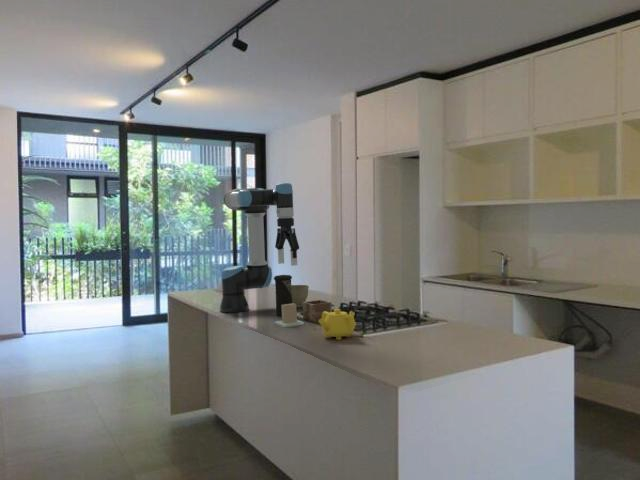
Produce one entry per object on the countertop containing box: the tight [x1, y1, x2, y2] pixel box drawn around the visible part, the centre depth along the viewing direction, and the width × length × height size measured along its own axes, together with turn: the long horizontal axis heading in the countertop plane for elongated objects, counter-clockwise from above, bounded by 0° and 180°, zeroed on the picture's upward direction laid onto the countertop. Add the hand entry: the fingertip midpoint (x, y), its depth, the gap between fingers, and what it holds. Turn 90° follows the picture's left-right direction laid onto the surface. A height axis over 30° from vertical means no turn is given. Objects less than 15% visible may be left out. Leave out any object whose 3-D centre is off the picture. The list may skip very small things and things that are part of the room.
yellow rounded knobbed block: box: [318, 308, 357, 341], centre depth 212 cm, size 20×18×11 cm
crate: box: [302, 299, 333, 323], centre depth 249 cm, size 10×10×8 cm
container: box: [273, 274, 293, 317], centre depth 264 cm, size 9×9×20 cm
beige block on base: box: [274, 303, 305, 328], centre depth 241 cm, size 10×10×9 cm
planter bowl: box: [291, 284, 309, 309], centre depth 286 cm, size 16×16×11 cm
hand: (287, 264), depth 241 cm, fingers open, 13 cm apart
